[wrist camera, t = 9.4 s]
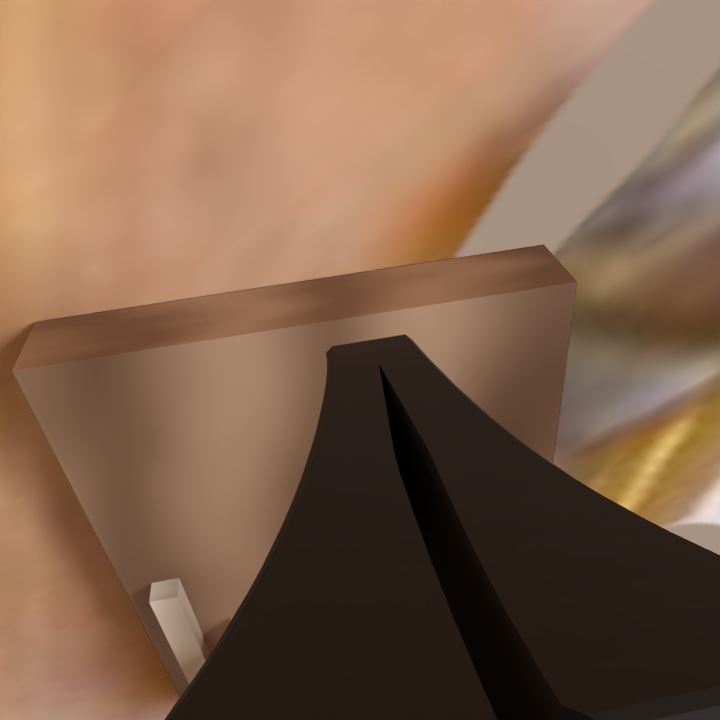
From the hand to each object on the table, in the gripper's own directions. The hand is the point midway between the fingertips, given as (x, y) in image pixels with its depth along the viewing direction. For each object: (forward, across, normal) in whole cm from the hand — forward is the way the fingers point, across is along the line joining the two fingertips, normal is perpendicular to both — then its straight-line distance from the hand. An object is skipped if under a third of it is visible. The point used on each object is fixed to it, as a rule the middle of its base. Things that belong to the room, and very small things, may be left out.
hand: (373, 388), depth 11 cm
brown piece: (+9, +1, +14) cm, 17 cm away
